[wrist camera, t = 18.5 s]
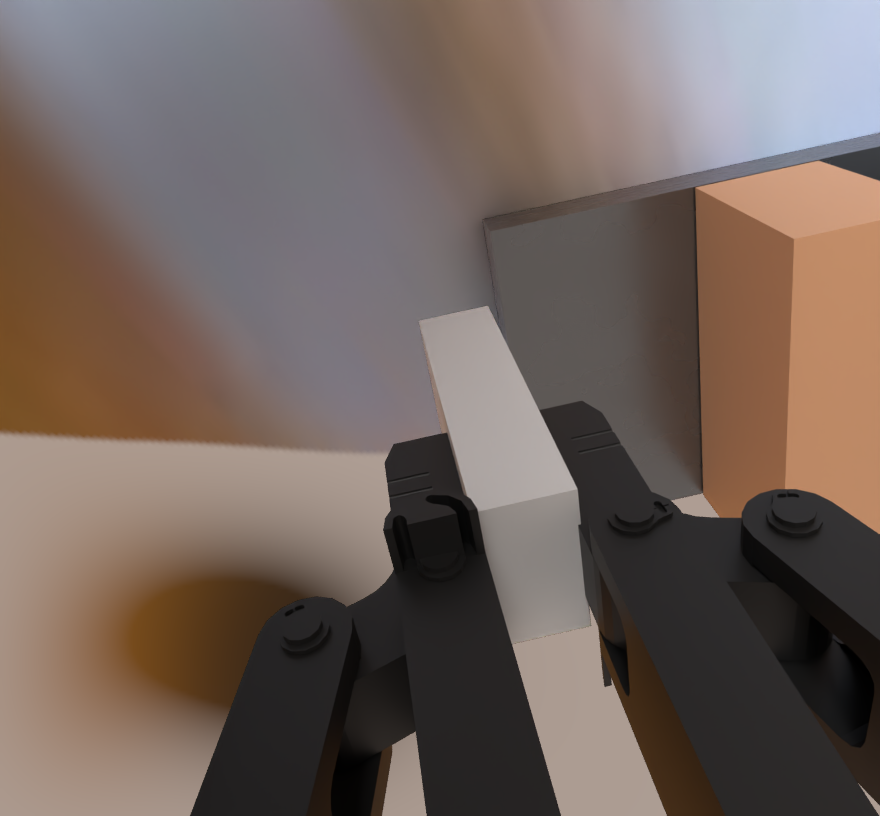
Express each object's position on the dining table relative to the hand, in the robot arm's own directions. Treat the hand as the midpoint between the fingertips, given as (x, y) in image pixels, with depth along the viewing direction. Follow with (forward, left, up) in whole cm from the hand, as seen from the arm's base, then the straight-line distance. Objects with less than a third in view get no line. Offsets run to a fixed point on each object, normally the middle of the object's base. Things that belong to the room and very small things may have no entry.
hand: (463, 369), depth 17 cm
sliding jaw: (+11, -6, -9) cm, 15 cm away
